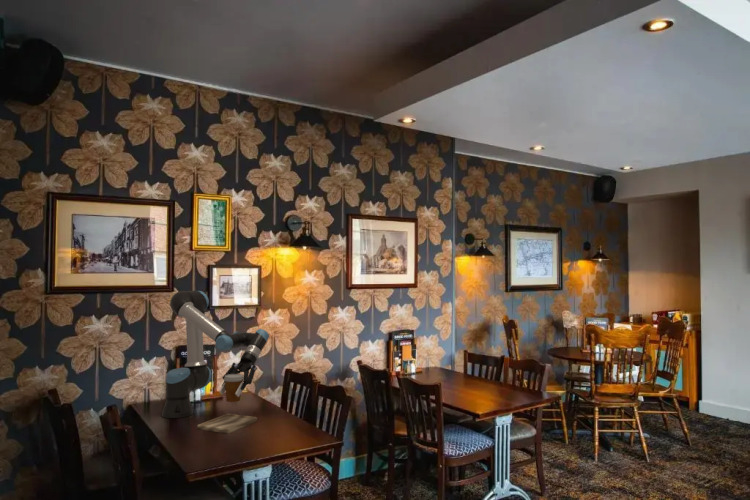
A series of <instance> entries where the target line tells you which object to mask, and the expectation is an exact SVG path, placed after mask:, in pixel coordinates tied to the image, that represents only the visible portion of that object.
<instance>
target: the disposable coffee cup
mask: <svg viewBox="0 0 750 500" xmlns="http://www.w3.org/2000/svg"><path fill="white" fill-rule="evenodd" d="M224 375H225V374H224ZM243 380H244V374H242V373H239V374H229V375H225V378H224V380H223V382H224V381H225V389H226V390H225V398H226V402H229V403H237V402H240V401H241V394H242V393H241V394H240V396H239V397H237V395H236V394H235V393H236V391H237V389H238V388H239V386H240V384H241V382H243ZM243 383H244V382H243Z"/></svg>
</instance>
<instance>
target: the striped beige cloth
mask: <svg viewBox="0 0 750 500" xmlns="http://www.w3.org/2000/svg"><path fill="white" fill-rule="evenodd" d="M257 421H258V417H256V416H250V415H241V414H235V413H225V414H223V415H220V416H218V417H214V418H213V419H210V420H207V421H205V422H202V423H200V424H197V430H202V431H207V432H215V433H221V434H227V435H228V434H230V433H232V432H235V431H239V430H240V429H242V428H244V427H247V426H249V425H251V424H254V423H256V422H257Z"/></svg>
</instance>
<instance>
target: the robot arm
mask: <svg viewBox="0 0 750 500" xmlns="http://www.w3.org/2000/svg"><path fill="white" fill-rule="evenodd" d="M209 303H210V301H209V297H208V295H207V294H206V293H205V292H204V291H202V290H181V291H178V292H176V293H174V294H173V295H172V296H171V298H170V302H169V306H170V308H171V310H172V312H173V313H175V315H177V316H178V317H179V318H184V319H185V330H186V331H185V332H186V333H185V334H186V352H187V353H186V355H187V356H186V361H187V362H186V363H185V364H184V367H179V368H174V369H170V370H169V371H167V373H166V378H165V402H164V405H163V409H162V412H161V416H162V418H165V419H180V418H186V417H189V416H192V415H193V413H194V411H193V409H194V408H193V407H192V403H191V399H190V395H191V392H192V391H196V390H200V389H203V388H205V387H207V386H208V385H209V384H210V382H211V380H212V370H211V369H210V368H209V367H208V365H207V364H208V362H206V361H205V359H204V335H206V336H207V337H208V338H210V339H211V340H212V341H213V342H215V347H216V348H217V349H218V350H219V351H228V350H234V349H237V348H243V347H245V350H244V353H242V356H241V357H240V360H239V362H238V363H236V362H233V363H232V364H231V367H229V369H227V371H226V372H225V374H224V375H223V376H222V379H223V382H222V384H221V388H220V390H219V393H220V394H221V395H222V396H223V395H224V394H225V393H226V389H225V381H224V378H225V375H229V374H242V373H243V377H244V379H243V382H241V384H240V386H239V388H238V389H237V391H236V393H235V394H236V395H237V397H239V396H240V394H242V393H243V391H245V389H246V387H247V385H252V382H253V379H254V376H255V373H256V371H257V369H258V367H257V366H256V362H257V361H258V359H259V356H260V355H261V353H262V351H263V349H264V347H265V345H266V344H267V342H268V340H269V338H270V335H269V334H270V333H269V332H268V331H266V330H265V329H262V328H258V329H257V330H256V331H255V332H245V331H234V332H233V333H229V332H228V331H226V329H224V328H222V327H221V326H220V325H219V324H218V323H216V322H215V321H213V320H212V319H211V318H210V317H209V316H207V315H206V312H205V311H206V310H207V309H208V307H209ZM240 397H241V396H240Z"/></svg>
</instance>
